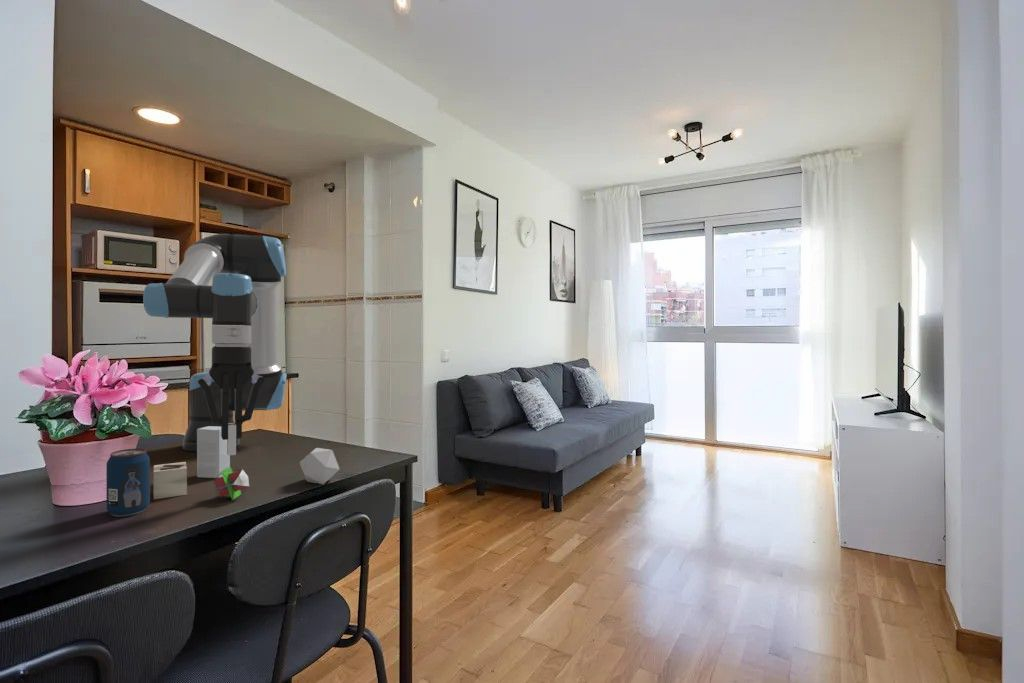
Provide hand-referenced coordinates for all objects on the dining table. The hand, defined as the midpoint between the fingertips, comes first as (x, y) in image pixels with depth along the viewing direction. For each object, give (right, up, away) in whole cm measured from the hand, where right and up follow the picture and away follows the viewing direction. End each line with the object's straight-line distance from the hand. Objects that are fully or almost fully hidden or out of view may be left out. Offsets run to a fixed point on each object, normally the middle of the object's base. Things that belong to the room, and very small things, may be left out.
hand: (231, 453), depth 111 cm
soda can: (-16, -10, -9) cm, 20 cm away
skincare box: (-13, -9, +16) cm, 22 cm away
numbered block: (-15, -9, +2) cm, 18 cm away
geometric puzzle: (0, -10, 0) cm, 10 cm away
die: (+14, -10, +13) cm, 22 cm away
